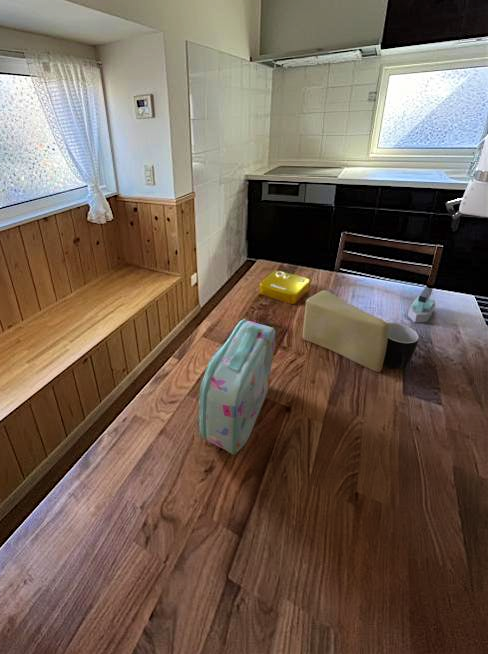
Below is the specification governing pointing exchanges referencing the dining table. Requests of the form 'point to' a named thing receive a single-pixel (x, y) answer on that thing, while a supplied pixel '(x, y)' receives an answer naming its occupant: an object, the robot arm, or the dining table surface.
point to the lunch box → (236, 386)
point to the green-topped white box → (422, 307)
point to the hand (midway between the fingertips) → (473, 233)
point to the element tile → (284, 287)
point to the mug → (400, 346)
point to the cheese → (345, 330)
